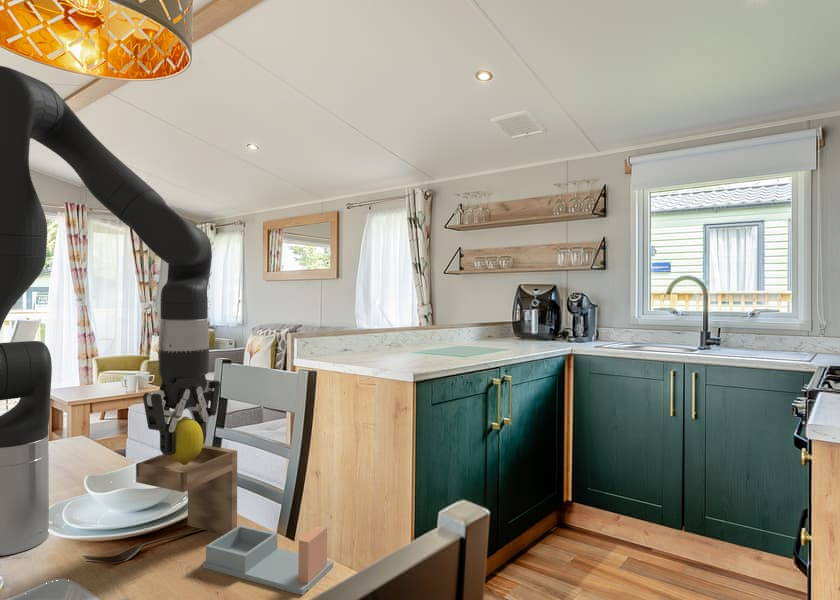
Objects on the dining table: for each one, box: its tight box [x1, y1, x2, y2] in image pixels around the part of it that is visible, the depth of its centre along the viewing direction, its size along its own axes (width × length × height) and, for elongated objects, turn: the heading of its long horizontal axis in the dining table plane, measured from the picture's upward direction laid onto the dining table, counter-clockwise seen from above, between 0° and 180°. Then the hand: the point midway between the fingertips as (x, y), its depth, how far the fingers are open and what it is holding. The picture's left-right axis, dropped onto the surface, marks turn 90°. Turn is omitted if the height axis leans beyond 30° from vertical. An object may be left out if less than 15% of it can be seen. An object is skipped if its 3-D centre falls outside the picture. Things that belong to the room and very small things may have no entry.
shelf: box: [135, 444, 238, 535], centre depth 87 cm, size 10×12×14 cm
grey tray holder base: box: [202, 525, 334, 596], centre depth 80 cm, size 18×8×7 cm, turn 68°
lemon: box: [170, 416, 204, 465], centre depth 85 cm, size 6×6×8 cm
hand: (184, 448), depth 85 cm, fingers closed on lemon, 5 cm apart
